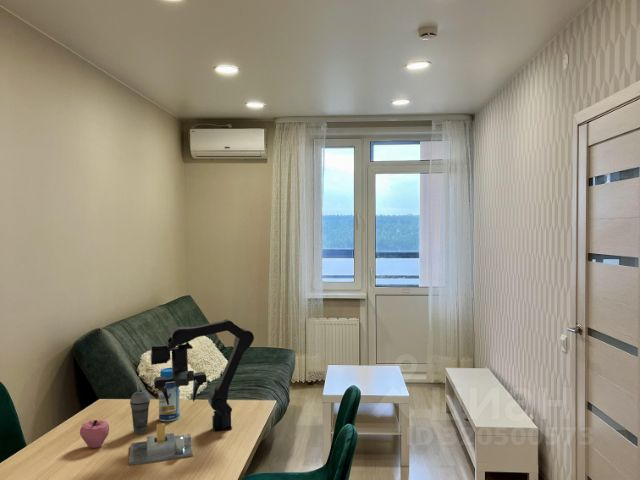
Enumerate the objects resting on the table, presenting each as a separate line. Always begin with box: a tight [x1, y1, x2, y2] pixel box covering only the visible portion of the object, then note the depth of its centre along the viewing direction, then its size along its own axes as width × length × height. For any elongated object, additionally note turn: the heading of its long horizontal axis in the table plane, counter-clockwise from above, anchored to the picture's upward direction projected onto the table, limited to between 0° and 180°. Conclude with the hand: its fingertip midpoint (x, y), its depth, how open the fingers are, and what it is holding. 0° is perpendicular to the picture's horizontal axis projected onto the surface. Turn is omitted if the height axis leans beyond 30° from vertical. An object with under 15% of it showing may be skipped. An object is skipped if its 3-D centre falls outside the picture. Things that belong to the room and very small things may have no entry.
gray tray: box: [128, 432, 193, 466], centre depth 172 cm, size 20×16×6 cm
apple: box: [79, 419, 110, 449], centre depth 177 cm, size 10×9×10 cm
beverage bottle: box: [157, 367, 181, 422], centre depth 204 cm, size 8×8×20 cm
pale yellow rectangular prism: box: [156, 422, 166, 442], centre depth 172 cm, size 3×3×8 cm
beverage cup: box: [129, 378, 151, 435], centre depth 190 cm, size 7×7×20 cm
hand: (180, 402), depth 187 cm, fingers open, 9 cm apart
